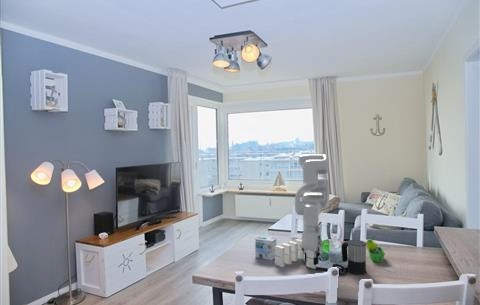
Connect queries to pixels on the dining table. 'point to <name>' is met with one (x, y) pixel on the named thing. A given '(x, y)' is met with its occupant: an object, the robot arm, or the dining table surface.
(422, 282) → the dining table surface
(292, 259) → the domino
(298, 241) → the domino
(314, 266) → the domino
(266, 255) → the light bulb box
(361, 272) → the milk frother
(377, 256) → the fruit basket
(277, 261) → the domino
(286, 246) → the domino
